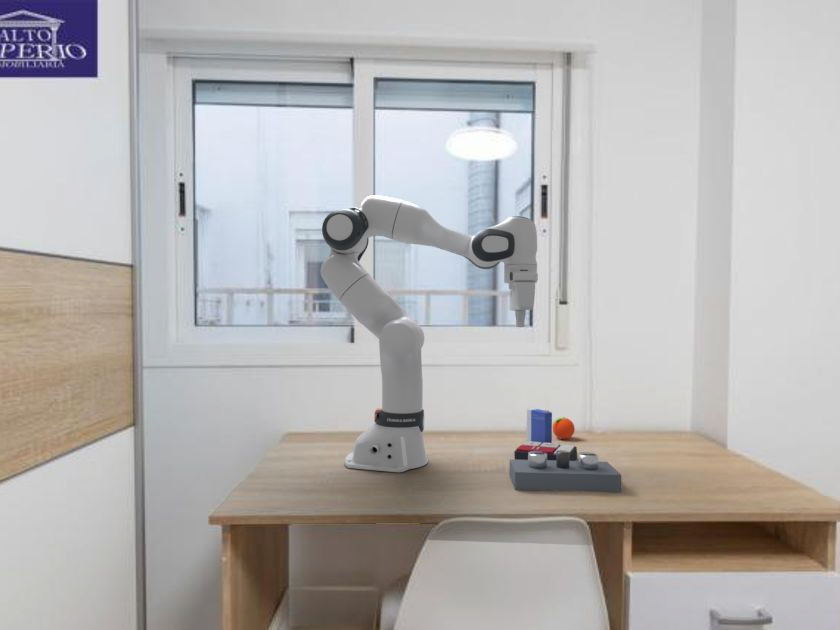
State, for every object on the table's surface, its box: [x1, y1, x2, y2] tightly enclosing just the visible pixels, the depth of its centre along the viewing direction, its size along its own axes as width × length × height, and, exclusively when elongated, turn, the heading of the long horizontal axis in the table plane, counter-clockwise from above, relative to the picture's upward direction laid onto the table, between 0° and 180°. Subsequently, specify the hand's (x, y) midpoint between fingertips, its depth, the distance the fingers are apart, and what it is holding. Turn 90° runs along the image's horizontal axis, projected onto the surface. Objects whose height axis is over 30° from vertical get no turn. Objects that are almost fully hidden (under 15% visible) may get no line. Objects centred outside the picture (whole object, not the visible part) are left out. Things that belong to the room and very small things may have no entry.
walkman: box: [526, 407, 553, 443], centre depth 146 cm, size 8×3×12 cm, turn 31°
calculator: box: [513, 440, 578, 461], centre depth 136 cm, size 11×4×15 cm
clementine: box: [552, 416, 576, 440], centre depth 158 cm, size 8×7×7 cm
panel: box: [509, 459, 622, 493], centre depth 116 cm, size 24×10×4 cm, turn 87°
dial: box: [556, 450, 569, 469], centre depth 116 cm, size 3×3×4 cm
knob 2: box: [578, 451, 599, 470], centre depth 116 cm, size 4×4×7 cm
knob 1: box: [528, 451, 547, 469], centre depth 116 cm, size 4×4×7 cm
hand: (520, 327), depth 132 cm, fingers closed
